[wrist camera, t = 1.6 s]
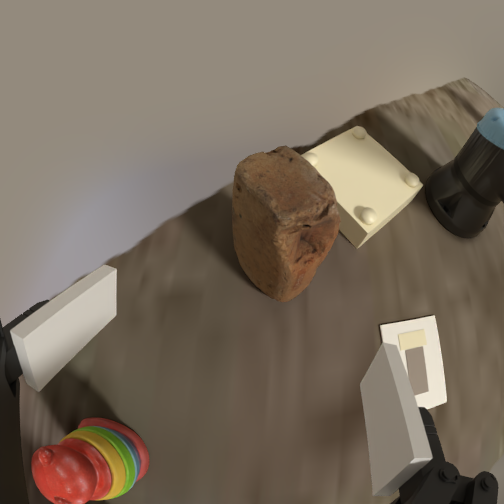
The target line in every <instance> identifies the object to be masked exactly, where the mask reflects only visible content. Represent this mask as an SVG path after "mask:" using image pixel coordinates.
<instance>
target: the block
mask: <svg viewBox="0 0 504 504" xmlns="http://www.w3.org/2000/svg"><path fill="white" fill-rule="evenodd" d="M340 222H341V220H340V215H339V212H338V209H337V200H336V196H335V192H334V190H333V188H332V186H331V185H330V184H329V182H328V181H327V180H326V179H325V178H324V177H323V176H321V174H320V173H319V172H318V171H317V170H316V168H315V167H314V166H312V165H311V164H310V162H309V161H307V160H306V159H305V158H303V157H302V156H301V155H300V154H298V153H297V152H295V151H294V150H292V149H291V148H289V147H287V146H281V147H278V148H276V149H275V150H273V151H271V152H268V153H264V152H260V153H256V154H253V155H250V156H248V157H247V158H245V159H244V160H243V161H241V162H240V163H239V164H238V165H237V168H236V171H235V176H234V186H233V200H232V227H233V241H234V248H235V251H236V254H237V256H238V260H239V264H240V265H241V267H242V269H243V270H244V272H245V273H246V275H247V276H248V277H249V278H250V280H251V281H252V282H253V283H254V284H255V286H256V287H257V288H260V289H261V291H262V292H263V293H265V294H266V295H268V296H269V297H270V298H272V299H276V300H277V301H280V302H288V301H290V300H292V299H293V298H295V297H296V296H297V295H299V294H300V293H301V292H302V291H303V290H304V289H305V288H306V287H307V286H308V285H309V284H310V282H311V280H312V278H313V277H314V275H315V273H316V269H317V267H318V266H319V265H320V264H321V263H322V261H323V260H324V259H325V257H326V255H327V252H328V251H329V250H330V249H331V247H332V245H333V242H334V240H335V238H336V236H337V234H338V232H339V224H340Z"/></svg>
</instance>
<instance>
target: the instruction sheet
mask: <svg viewBox="0 0 504 504" xmlns="http://www.w3.org/2000/svg"><path fill="white" fill-rule="evenodd" d="M380 330H381V337H382V343H383V342H384V343H389V344H394V345H397V348H398V351H399V353H400V356H401V359H402V361H403V364H404V367H405V370H406V372H407V375H408V378H409V381H410V384H411V387H412V390H413V393H414V396H415V399H416V402H417V405H418V407H425V408H426V409H429V408H432V407H435V406H438V405H440V404H443V403H446V402H447V397H446V387H445V377H444V369H443V362H442V355H441V348H440V342H439V336H438V330H437V325H436V320H435V315H434V316H429V317H424V318H419V319H414V320H408V321H403V322H397V323H391V324H385V325H380Z"/></svg>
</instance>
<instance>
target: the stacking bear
mask: <svg viewBox="0 0 504 504" xmlns="http://www.w3.org/2000/svg"><path fill="white" fill-rule="evenodd" d="M31 464H32V474H33V478H34V480H35V483H36V485H37V487H38V489H39V490H40V492H41V493H42V494H43V495H44V496H45V497H46V498H47V499H48V500H49V501H51V502H52V503H54V504H85V503H86V502H87V501H89V500H106V499H112V498H116V497H118V496H121V495H123V494H125V493H126V492H127V491H128V490H130V489H131V487H132V486H133V485H134V483H135V482H137V481H138V480H139V479H141V478H142V477H143V476H144V475H145V473H146V472H147V470H148V467H149V454H148V451H147V448H146V446H145V444H144V442H143V441H142V439H141V438H140V437H139V436H138V435H137V434H136V433H135V432H134V431H132V430H131V429H129V428H128V427H126V426H124V425H122V424H120V423H118V422H115V421H112V420H109V419H104V418H86V419H83V420H82V421H81V423H80V425H79V426H78V429H77V430H75V431H73V432H71V433H70V434H68V435H67V436H65V437H64V438H63V439H62V440H61V441H60V442H59V443H58V445H49V446H45V447H40V448H39V449H38V450H36V451H35V453H34V454H33V457H32V463H31Z"/></svg>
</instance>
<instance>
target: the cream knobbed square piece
mask: <svg viewBox="0 0 504 504" xmlns="http://www.w3.org/2000/svg"><path fill="white" fill-rule="evenodd" d="M301 156H302V157H303V158H305V159H306V160H307V161H309V162H310V164H311V165H312V166H314V167H315V168H316V170H317V171H318V172H319V173H320V174H321V176H323V177H324V178H325V179H326V180H327V181H328V182H329V184H330V185H331V186H332V188H333V190H334V192H335V196H336V200H337V209H338V212H339V215H340V220H341V222H340V224H339V230H340V231H341V232H342V234H343V235H344V236H345V237H346V238H347V239H348V240H349V241H350V242H351V243H352V244H353V245H354V247H355V248H356V249H357V248H359V247H360V246H361V245H362V244H363V243H364V242H366V241H367V240H368V239H369V238H370V237H371V236H373V235H374V234H375V233H376V232H377V231H378V230H380V229H381V228H382V227H383V226H384V225H385V224H386V223H388V222H389V221H390V220H391V219H392V218H393V217H394V216H395V215H397V214H398V213H399V212H400V211H401V210H402V209H403V208H404V207H406V206H407V205H408V204H409V203H410V202H411V201H412V200H413V198H414V197H415V196H416V194H417V193H418V192H419V190H420V189H421V188H422V186H423V184H422V183H421V182H420V181H419V178H418V177H417V175H415V174H414V173H411V172H409V171H408V170H407V169H406V168H405V167H404V166H403V165H402V164H401V163H400V162H399V161H398V160H397V159H396V158H395V157H393V156H392V155H391V154H390V153H389V152H388V151H387V150H386V149H385V148H383V147H382V146H381V145H380V144H379V143H378V142H376V141H375V140H374V139H373V138H372V137H371V136H369V135H368V134H367V132H366V130H365V129H364V128H363V127H360V126H356V127H354V128H352V129H350V130H348V131H346V132H344V133H342V134H340V135H338V136H336V137H334V138H332V139H330V140H328V141H326V142H325V143H323V144H321V145H319V146H317V147H315V148H313V149H311V150H310V151H308V152H306V153H304V154H302V155H301Z"/></svg>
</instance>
